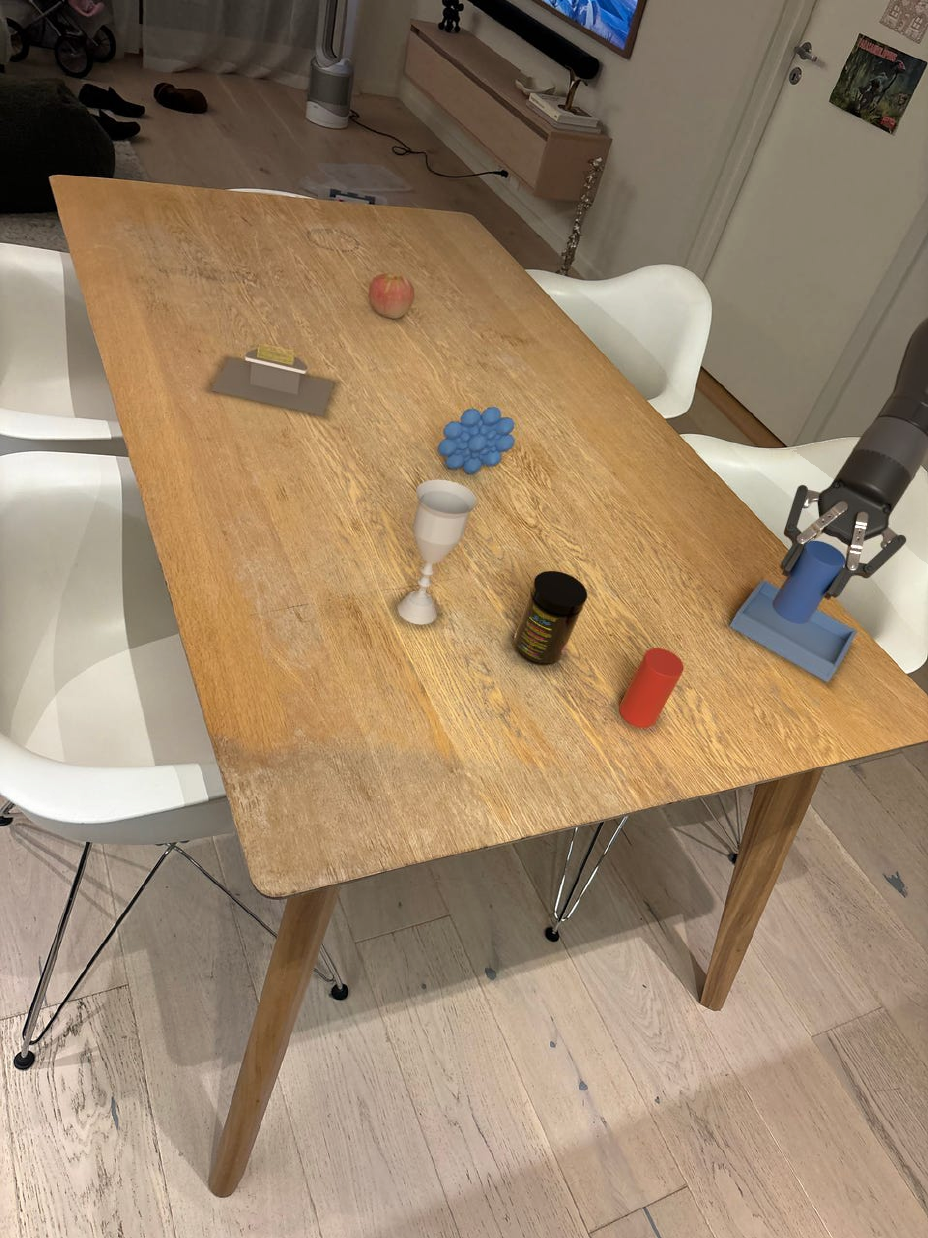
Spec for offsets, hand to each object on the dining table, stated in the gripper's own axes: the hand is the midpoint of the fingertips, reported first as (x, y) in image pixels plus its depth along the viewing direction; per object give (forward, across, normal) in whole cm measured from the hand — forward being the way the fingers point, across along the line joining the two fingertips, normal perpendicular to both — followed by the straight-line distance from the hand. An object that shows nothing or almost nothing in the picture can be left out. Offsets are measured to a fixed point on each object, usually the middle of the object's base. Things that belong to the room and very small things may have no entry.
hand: (806, 585), depth 108 cm
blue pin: (+2, 0, +5) cm, 5 cm away
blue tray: (0, +1, +27) cm, 27 cm away
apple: (-21, -96, +49) cm, 110 cm away
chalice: (+27, -39, 0) cm, 48 cm away
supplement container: (+23, -24, +4) cm, 33 cm away
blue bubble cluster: (+3, -54, +24) cm, 59 cm away
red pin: (+23, -9, +4) cm, 25 cm away
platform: (+8, -89, +20) cm, 91 cm away
